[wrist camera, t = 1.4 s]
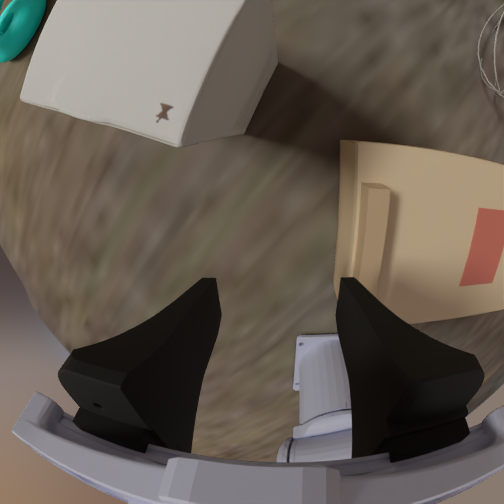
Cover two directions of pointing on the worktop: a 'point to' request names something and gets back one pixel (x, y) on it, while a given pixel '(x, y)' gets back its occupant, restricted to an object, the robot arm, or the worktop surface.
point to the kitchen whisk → (494, 55)
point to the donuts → (19, 26)
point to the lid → (428, 231)
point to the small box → (156, 65)
